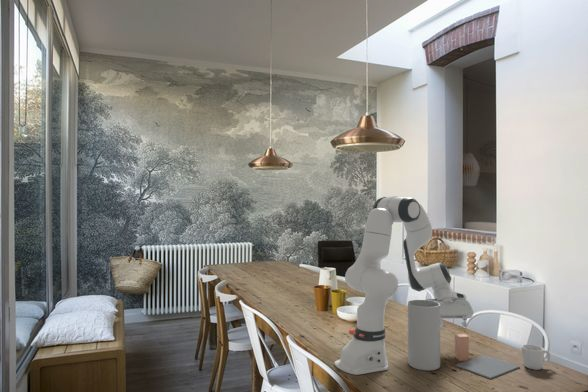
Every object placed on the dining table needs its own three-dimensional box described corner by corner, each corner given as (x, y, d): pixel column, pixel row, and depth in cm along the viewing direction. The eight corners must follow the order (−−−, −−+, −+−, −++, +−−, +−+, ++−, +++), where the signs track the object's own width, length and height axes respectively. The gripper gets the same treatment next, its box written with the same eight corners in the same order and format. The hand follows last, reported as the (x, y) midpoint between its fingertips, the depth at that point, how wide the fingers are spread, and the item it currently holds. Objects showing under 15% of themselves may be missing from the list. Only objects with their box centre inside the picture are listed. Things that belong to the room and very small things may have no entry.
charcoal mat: (490, 379, 158) (490, 377, 158) (455, 366, 171) (455, 364, 171) (519, 367, 169) (519, 366, 169) (484, 356, 182) (484, 354, 182)
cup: (543, 363, 174) (543, 344, 174) (556, 371, 166) (556, 350, 166) (517, 363, 173) (517, 344, 174) (529, 371, 165) (529, 351, 166)
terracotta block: (459, 360, 177) (459, 336, 177) (455, 357, 181) (455, 333, 181) (468, 360, 177) (468, 336, 177) (464, 357, 181) (464, 333, 181)
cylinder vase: (415, 357, 180) (415, 298, 181) (444, 364, 173) (444, 302, 173) (402, 366, 171) (402, 303, 171) (433, 374, 163) (433, 308, 163)
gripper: (424, 295, 193) (433, 323, 183) (468, 294, 194) (479, 322, 184) (421, 302, 197) (429, 330, 187) (464, 302, 198) (474, 329, 189)
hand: (454, 326), depth 186 cm, fingers open, 8 cm apart
